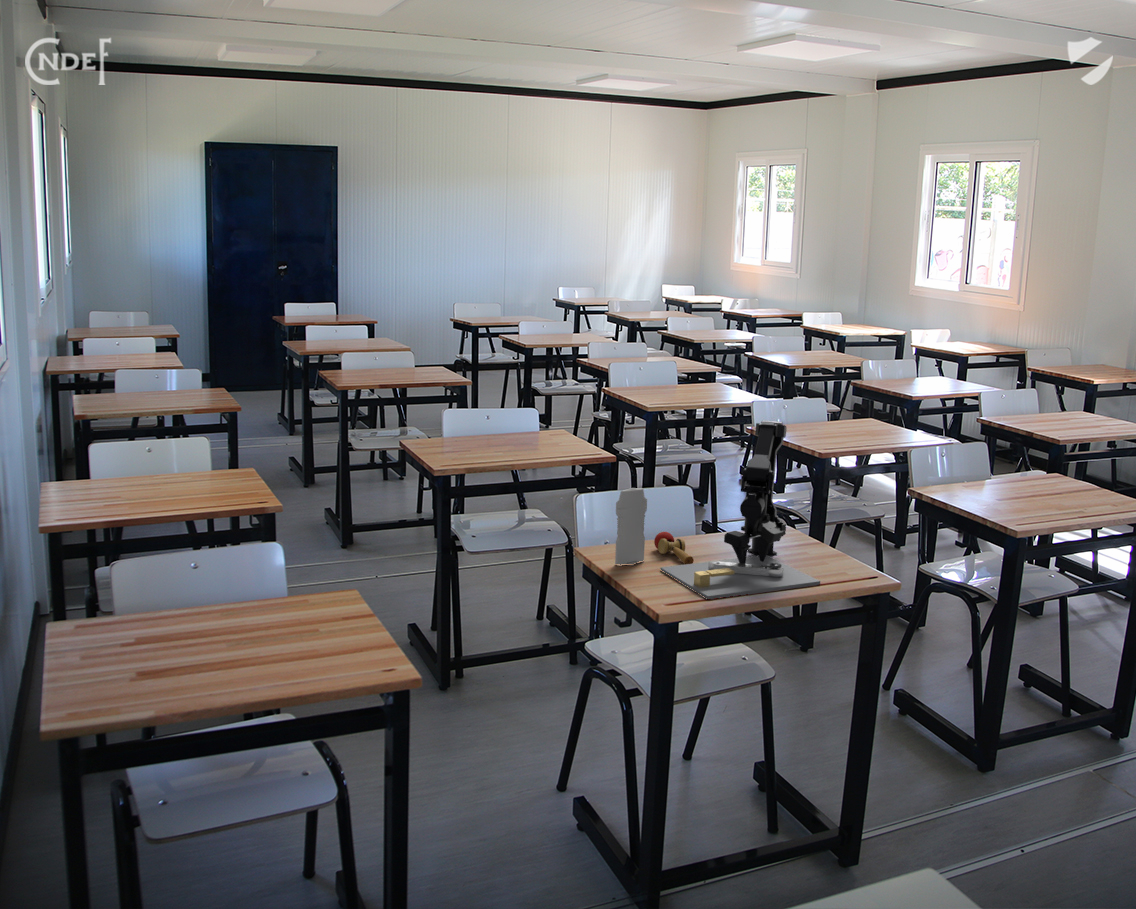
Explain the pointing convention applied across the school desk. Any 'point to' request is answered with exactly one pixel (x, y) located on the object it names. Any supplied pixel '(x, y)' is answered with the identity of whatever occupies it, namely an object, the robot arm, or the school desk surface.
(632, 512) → the tall pale column
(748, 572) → the link
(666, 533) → the kendama
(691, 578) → the base plate
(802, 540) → the school desk surface
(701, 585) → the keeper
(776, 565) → the glossy black ball
